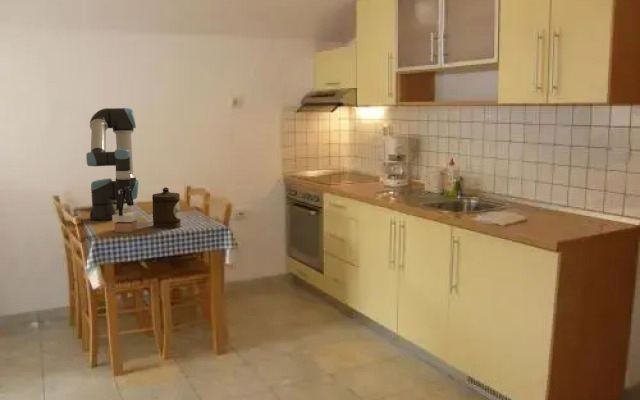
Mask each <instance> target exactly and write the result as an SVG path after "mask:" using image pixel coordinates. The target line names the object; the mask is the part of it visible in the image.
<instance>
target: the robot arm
mask: <svg viewBox="0 0 640 400" xmlns="http://www.w3.org/2000/svg"><path fill="white" fill-rule="evenodd" d="M89 128H90V130H91V136H90V137H91V138H90V151H89V152H87V153H86V154H85V157H86V158H85V159H86V164H87V167H108V166H109V167H110V166H112V167H114V166H115V180H113V179H112V178H102V179H97V180H94V181H92V182H91V183H90V190H91V210H90V214H89V220H90V221H96V222H97V221H98V222H104V221H110V220H111V221H112V215H114V214H116V213H119V222H125V221H124V212H125V209H123V206H124V200H126V203H127V205H128V206H127V208H126V212H133V206H134V205H135V203H134V200H137V198H138V194H139V193H138V191H139V179H137V176H135V174H134V168H133V167H134V166H133V146H132V145H133V143H132V133H134V132H135V131H134V129H136V128H137V126H136V120H135V116H134V111H133V109H131V108H129V107H128V108H126V107H123V108H122V107H121V108H120V107H118V108H117V107H116V108H112V107H111V108H108V107H107V108H105V107H104V108H102V109H98V111H96V112H95V113H94V114H93V115H92V116H91V118H90V120H89ZM108 129H112V132H113V133H114V135H115V144H116V145H115V146H116V149H115V150H114V151H106V150H107V149H106V145H107V143H106V141H107V140H106V139H107V138H106V136H107V134H106V133H107V132H106V131H107V130H108ZM115 200H117V203H116V209H117V210H115V209H114V206H113V201H115ZM117 211H118V212H117Z"/></svg>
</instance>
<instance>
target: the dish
mask: <svg viewBox="0 0 640 400" xmlns="http://www.w3.org/2000/svg"><path fill="white" fill-rule="evenodd" d="M137 222H138V219H137V220H135V221H133V222H113V223H114V234H115V233H116V234H133V232H135V231H136V230H138V228H139V227H138V224H137Z"/></svg>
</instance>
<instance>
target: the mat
mask: <svg viewBox="0 0 640 400" xmlns="http://www.w3.org/2000/svg"><path fill="white" fill-rule="evenodd" d="M137 224H138V228H141V227H143V228H146V227H148V226H149V225H151V224H153V221H149V222H147V221H143V222H142V221H141V222H140V221H137Z"/></svg>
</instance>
